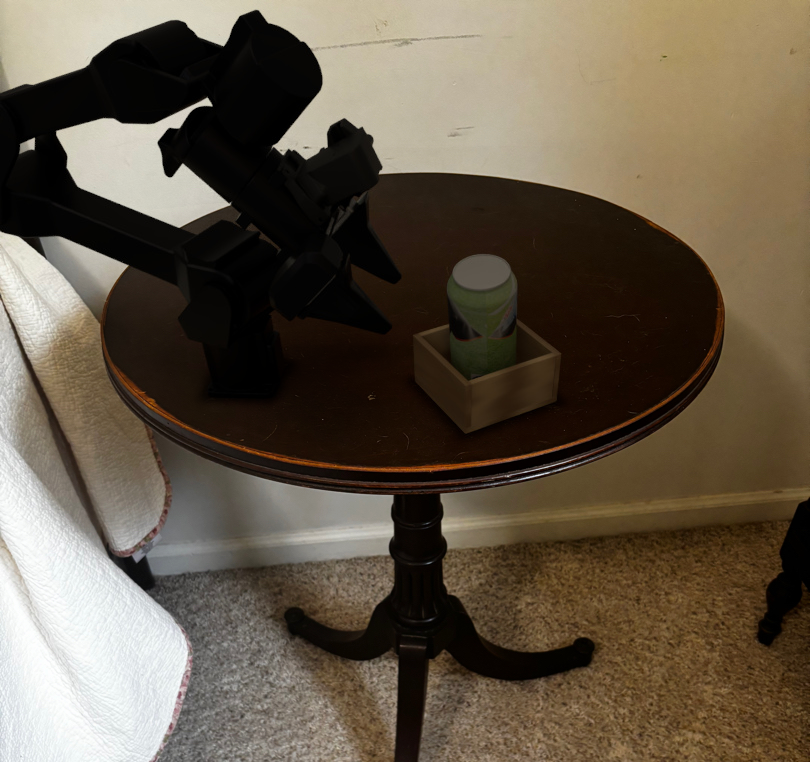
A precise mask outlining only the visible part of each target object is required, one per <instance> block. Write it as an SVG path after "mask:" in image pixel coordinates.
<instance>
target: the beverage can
mask: <svg viewBox="0 0 810 762" xmlns="http://www.w3.org/2000/svg"><path fill="white" fill-rule="evenodd" d="M446 300H447V316H448V324H449V333H450V350H451V365H452V366H453V367H454V368H455V369H456V370H457V371H458V372H459V373H460V374H461V375H462V376H463V377H465V378H466V379H467V380H468V381H470V380H473V379H476V378H479V377H481V376H484V375H487V374H490V373H493V372H496V371H499V370H502V369H505V368H508V367H511V366H514V365H516V327H517V319H518V281H517V278H516V275H515V274H514V272H513V271H512V267H511V265H510V264H509V263H508V262H507V260H505V259H504V258H502V257H500V256H497V255H495V254H489V253H487V254H485V253H479V254H473V255H469V256H467V257H464V258H462V259H461V260H459V261H458V262H457V263H456V264H455V265H454V267H453V269H452V273H451V275H449V278H448V280H447V284H446Z"/></svg>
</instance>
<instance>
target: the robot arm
mask: <svg viewBox="0 0 810 762" xmlns="http://www.w3.org/2000/svg"><path fill="white" fill-rule="evenodd" d="M323 76H324V75H323V71H322V68H321V65H320V63H319V60H318V59H317V56H316V55H315V53H314V52H313V50H312V49H311V47H310V46H309V45H308V43H307V42H306V41H304V40H303V41H301V40H300V39H299V38H298V37H297V36H296V35H295V34H293V33H292V32H291V31H290V30H288V29H286V28H284V27H282V26H280V25H278V24H274V23H270V22H268V20H267V19H266V18H265V16H264V15H263V14H262V12H261V11H260V9H253V10H251V11H249V12H246V13H243V14H240V15H239V16H238V17H237V19H236V21H235V22H234V23H233V26H232V28H231V31H230V33H229V36H228V38H227V41H226V42H225V43H224V45H221V44H219V43H217V42H214V41H211V40H208V39H205V38H203V37H200V36H198V35H197V33H196V32H195V31H194V30H193V29H191V28H190V27H189V26H188V24H187V23H186V22H185V21H183V20H181V19H170V20H167V21H164V22H162V23H159V24H156V25H153V26H151V27H148V28H144V29H142V30H139V31H136V32H134V33H131V34H129V35H125V36H123V37H120V38H118V39H116V40H114V41H112V42H111V43H109V44H108V45H107V46H105V47H104V48H103V49H102V50H100V51H99V52H98V53H96V54H95V55H93V56H92V58H91V59H90V61H89V64H87V65H86V66H85V67H83V68H79V69H76V70H73V71H70V72H67V73H64V74H61V75H59V76H58V75H57V76H55V77H53V78H49V79H46V80H43V81H40V82H38V83H33V84H31V83H30V84H29V83H23V84H20V85H18V86H15V87H13V88H10V89H7V90H5V91H1V92H0V233H1V234H2V233H3V234H6V235H9V236H14V237H19V238H23V239H36V238H38V239H39V238H53V237H58V238H62V239H65V240H67V241H69V242H72V243H74V244H77V245H78V246H81V247H84V248H86V249H88V250H91V251H93V252H96V253H97V254H100V255H103V256H105V257H107V258H110V259H112V260H114V261H116V262H119V263H121V264H124V265H126V266H129V267H130V268H133V269H135V270H137V271H140V272H143V273H145V274H147V275H149V276H151V277H155V278H157V279H159V280H160V281H161V280H162V281H164V282H166V283H168V284H171V285H173V286H175V287H176V288H178V290H179V291H180V293H181V294H182V296H183V298H184V300H185V302H186V303H187V305H186V307H185V308H184V309H183V310H182V311H181V313H180V314H179V315H178V317H177V321H178V323H179V325H180V327H181V328H182V331H183V332H184V334H185V336H186V338H187V339H188V340H190V341H193V342H198V343H201V346H202V350H203V352H204V357H205V361H206V365H207V369H208V374H209V376H210V381H209V383H208V386H207V387H206V394H207V396H210V397H237V398H238V397H239V398H271V397H272V396H273V394H274V392H275V390H276V387H277V385H278V383H279V382H280V381H281V379H282V377H283V373H284V371H285V369H286V359H285V356H284V350H283V346H282V340H281V335H280V334H281V333H280V331H278V330H274V325H273V319H272V315H271V314H272V313H273V312H274V311H276V312H277V313H278V314H279V315H280V316H282V317H283V318H284V319H285V320H287V321H288V322H292V321H293V320H295V318H297V319H299V320H302V321H303V320H306V318H310V319H316V320H321V321H326V322H332V323H335V324H340V325H344V326H349V327H352V328H356V329H359V330H363V331H367V332H371V333H375V334H379V335H383V336H384V335H387V334H388V333H389V332H390V331H391V330H392V328H393V324H392V322H391V320H389V318H388V317H387V316H386V314H385V313H384V312H383V311H382V310H381V309H380V307H378V306H377V304H376V303H375V302H374V301H373V299H372V298H370V297H369V295H368V294H367V293H366V292H365V290H363V289H362V287H361V286H360V285H359V284H358V283H357V281H355V279H354V278H353V269H352V265H353V266H355V267H357V268H359V269H361V270H363V271H364V272H367V273H369V274H370V275H373V276H374V277H376V278H378V279H380V280H383V281H385V282H387V283H389V284H391V285H396V284H398V283H399V281H401V280H402V277H403V275H402V272H401V271H400V269H399V268H398V266H397V264H396V263H395V260H393V258H392V256H391V255H390V253H389V251H388V250H387V248H386V247H385V245H384V243H383V242H382V239H381V238H380V236H379V235H378V234H377V232H376V230H375V228H374V226H373V225H372V223H371V220H370V193H369V190H371V189H373V188H374V187H376V186H377V184H378V183H379V181H380V172H381V171H382V170H383V169H384V167H383V164H382V162H381V160H380V157H379V156H378V154H377V152H376V149H375V148H374V146H373V145H374V142H375V139H374V136H373V135H372V134H370V133H367V132H366V130H365V128H364V126H360V127H359V128H358V127H357V126H355V124H353V123H352V122H351V121H350V120H348V119H347V118H346V117H343V118H341V119H340V120H337V121H336V122H334V123H332V124H331V125H329V127H328V129H327V131H326V144H327V146H326V147H325V146H323V147H321V148H319V151H318V152H317V153H316V154H314V155H312V156H310V157H309V158H305V157H304V156H303V155H301V154H300V152H298V151H297V150H296V149H292V150H291V149H290V148H288V149H287V150H286V151H285V152H284V153H282V152H280V151H279V150H278V149H277V148H276V147H275V145H277V144H278V143H279V142H280V141H281V140H282V138H284V136H285V135H286V133H287V132H288V131H289V130H290V129H291V127H292V126H293V125H294V124H295V123H296V121H298V119H299V118H300V117H301V115H302V114H303V113H304V112H305V110H307V108H308V107H309V105H310V104H311V103H312V102H313V100H314V99H315V98H316V97H317V96H318V94H319V93H320V92H321V91H322V89H323V84H324V81H323V79H324V77H323ZM206 99H208V100H209V102H210V104H211V105H201V106H197V107H195V108H193V109H191V110H190V112H189V113H188V114H187V116H186V118H185V119H184V120H183V122H182V124H181V125H180V127H168V128H167V129H166V130H165V132H164V133H163V134H162V135H161V137H160V138H159V139H158V140H157V142H156V144H157V146H158V148H159V151H160V154H161V164H162V169H163V174H164V175H165V176H166V177H167V178H169V179H171V178H173V177H174V176H175V174H176V173H177V172H178V170H179V169H180V168H181V167H182V165H183V166H185V167H186V168H187V169H189V171H191V172H192V173H193V174H194V175H195V176H196V177H198V179H200V180H201V181H202V182H203V183H205V184H206V185H207V186H208V187H209V188H210V189H211V190H213V191H214V193H216V194H217V195H218V196H219V197H220V198H222V200H224V201H225V202H226V203H228V205H230V207H232V208H233V209H234V210H235V211H237V212H238V213H239V214H238V216H237V217H236V219H235V221H234V222H232V221H230V220H227V219H220V220H218V221H216V222H215V223H213V224H211V225H210V226H209V227H207V228H206V229H204V230H203V231H201V232H199V233H198V234H196V233H193V232H191V231H189V230H186V229H183V228H182V227H178V226H176V225H173V224H171V223H169V222H166V221H163V220H161V219H158V218H156V217H153V216H151V215H149V214H146V213H144V212H141V211H139V210H136V209H133V208H131V207H129V206H125V205H123V204H121V203H119V202H116V201H113V200H112V199H109V198H106V197H104V196H101V195H98V194H96V193H94V192H91V191H89V190H86V189H84V188H81V187H80V186H78V185H77V183H76V181H75V179H74V177H73V175H72V174H71V172H70V171H69V169H68V153H67V152H66V150H65V147H64V146H63V144H62V142H61V140H60V139H59V137H58V135H57V132H59V131H63V130H66V129H69V128H72V127H77V126H81V125H84V124H88V123H91V122H95V121H99V120H102V119H105V120H106V119H111V120H115V121H117V122H118V123H120V124H123V125H155V124H157V123H159V122H161V121H163V120H165V119H167V118H169V117H172V116H173V115H175V114H177V113H180V112H182V111H185V110H187V109H188V108H190V107H193V106H194V105H196V104H198V103H201V102H203V101H204V100H206ZM33 139H34V147H33V148H34V149H33V148H31V149H27V150H25V151H22V152H21V144H24V143H26V142H28V141H31V140H33ZM354 197H357V198H358V200H355V199H354ZM251 224H252V225H253V226H254V227H255V228H256V229H257V230H248V228H249V226H250V225H251ZM262 234H263V235H264V236H265V237H267V238H268V239H269V240H270V241H271V242H272V243H273V244H272V243H271V242H269V241H267V240H265V239H263V238H260V237H261V235H262ZM274 244H275V245H274ZM275 246H277V247H278V248H277V247H275Z"/></svg>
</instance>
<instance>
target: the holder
mask: <svg viewBox="0 0 810 762" xmlns="http://www.w3.org/2000/svg"><path fill="white" fill-rule="evenodd" d="M412 344H413V365H414V366H413V368H414V382H415V384H417V385H418V387H420V389H422V390H423V392H424V393H425V394H426V395H427V396H429V398H430V399H432V401H433V402H434V403H435V404H436V405H437V406H438V407H439V408H440V410H442V412H444V414H446V415H447V417H449V419H451V421H453V423H454V424H456V426H457V427H458V428H459V429H460V430H461V431H462V432H463V433H464V434H465V435H466V434H469V433H472V432H476V431H478V430H480V429H483V428H486V427H489V426H491V425H495V424H498V423H500V422H503V421H506V420H508V419H509V420H510V419H512V418H514V417H516V416H517V417H518V416H519V415H522V414H525V413H528V412H531V411H534V410H536V409H539V408H541V407H545V406H547V405H550V404H553V403H555V402H557V400H558V391H559V381H560V371H561V361H562V353H561V351H559V350H557V349H556V348H555V347H554V346H552V345H551V344H550V343H548V341H546V340H545V339H544V338H542V337H541V336H540V335H539V334H537V333H536V332H535V331H534V330H532V329H531V328H530V327H529V326H527V325H526V324H524V323H523V322H522V321H521V320H519V319H518V318H517V327H516V365H514V366H511V367H508V368H505V369H502V370H499V371H496V372H493V373H490V374H487V375H484V376H481V377H479V378H476V379H473V380H470V381H468V380H467V379H466V378H465V377H463V376H462V375H461V374H460V373H459V372H458V371H457V370H456V369H455V368H454V367H453V366H452V365H451V350H450V333H449V323H447V324H443V325H441V326H438V327H437V326H436V327H433V328H430V329H428V330H424V331H421V332H418V333H415V334H413V335H412Z"/></svg>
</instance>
